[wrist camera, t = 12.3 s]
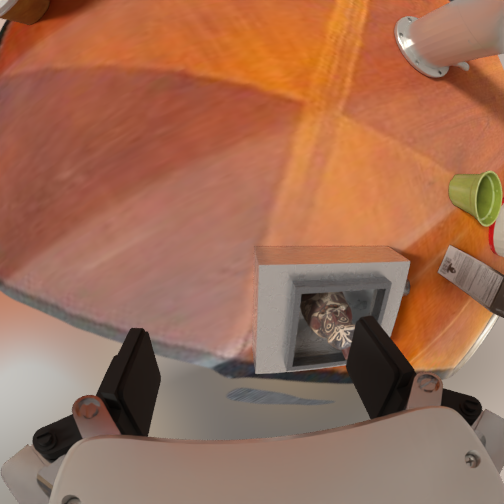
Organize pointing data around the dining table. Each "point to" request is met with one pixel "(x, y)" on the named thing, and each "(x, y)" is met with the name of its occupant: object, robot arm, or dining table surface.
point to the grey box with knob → (319, 281)
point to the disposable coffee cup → (23, 10)
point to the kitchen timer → (497, 233)
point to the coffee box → (474, 279)
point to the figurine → (329, 318)
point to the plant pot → (477, 195)
